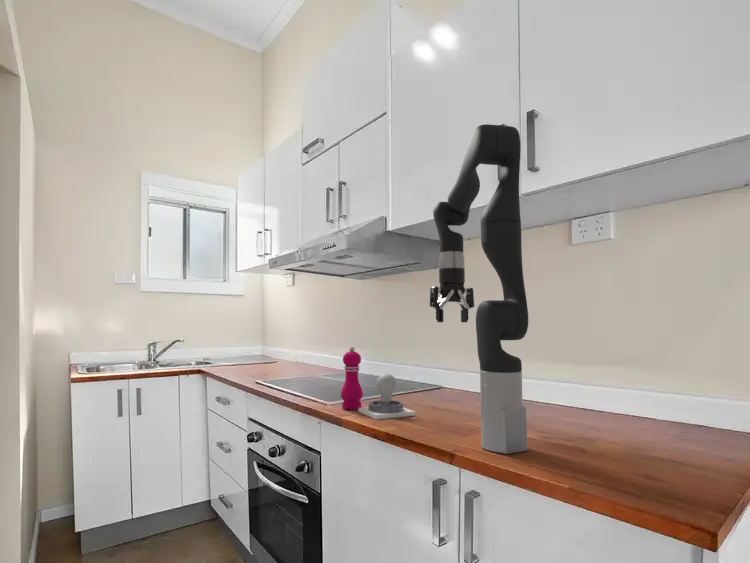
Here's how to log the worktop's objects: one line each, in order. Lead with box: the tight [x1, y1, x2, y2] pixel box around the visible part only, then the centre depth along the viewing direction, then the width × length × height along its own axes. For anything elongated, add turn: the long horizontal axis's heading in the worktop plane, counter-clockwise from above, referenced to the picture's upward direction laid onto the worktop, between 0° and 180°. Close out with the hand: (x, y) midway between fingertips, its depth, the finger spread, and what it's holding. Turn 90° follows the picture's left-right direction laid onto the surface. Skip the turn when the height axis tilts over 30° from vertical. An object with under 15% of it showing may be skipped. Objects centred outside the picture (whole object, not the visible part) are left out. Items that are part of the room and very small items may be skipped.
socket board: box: [357, 406, 416, 420], centre depth 143 cm, size 13×13×1 cm
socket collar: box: [368, 399, 404, 413], centre depth 143 cm, size 10×10×2 cm
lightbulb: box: [376, 373, 397, 406], centre depth 144 cm, size 6×6×11 cm
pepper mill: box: [340, 346, 364, 411], centre depth 153 cm, size 7×7×20 cm
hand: (452, 322), depth 137 cm, fingers open, 8 cm apart
